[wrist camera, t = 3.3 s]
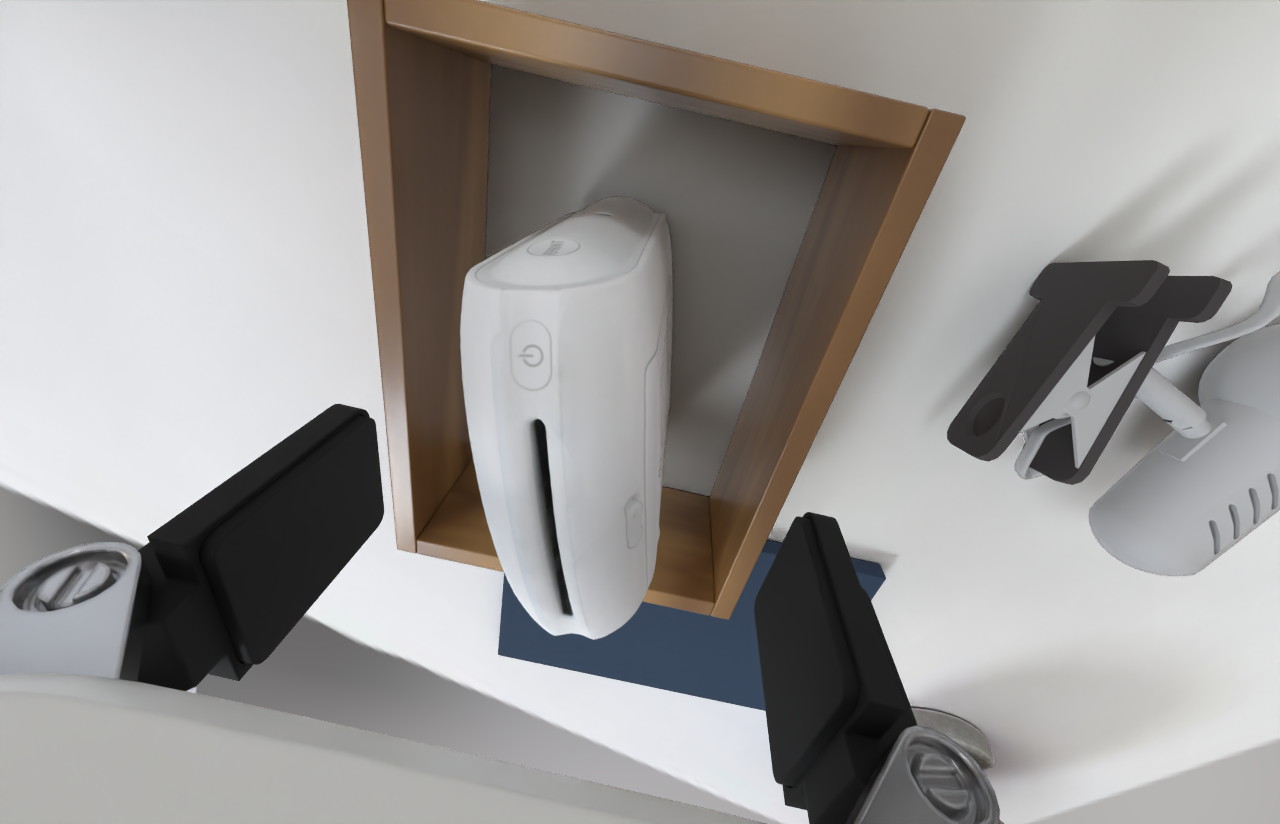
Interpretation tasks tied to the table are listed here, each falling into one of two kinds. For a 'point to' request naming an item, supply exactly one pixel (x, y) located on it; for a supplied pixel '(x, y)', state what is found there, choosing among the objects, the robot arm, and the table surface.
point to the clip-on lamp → (1120, 370)
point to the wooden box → (455, 242)
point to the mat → (666, 643)
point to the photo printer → (573, 409)
